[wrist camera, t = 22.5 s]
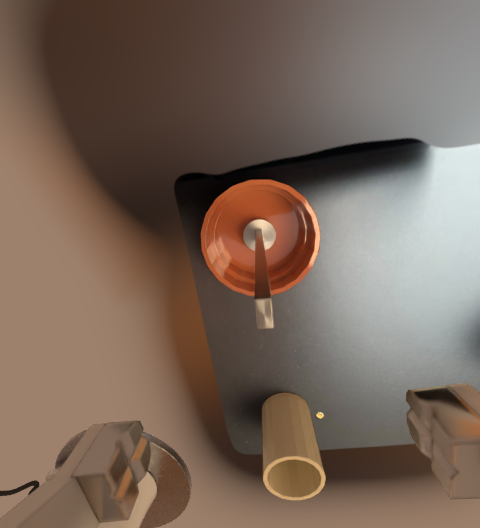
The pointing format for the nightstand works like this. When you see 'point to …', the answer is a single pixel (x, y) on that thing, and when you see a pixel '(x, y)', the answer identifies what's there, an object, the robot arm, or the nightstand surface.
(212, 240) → the bowl
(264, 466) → the crock
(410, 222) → the nightstand surface
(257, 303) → the metal stirring rod
